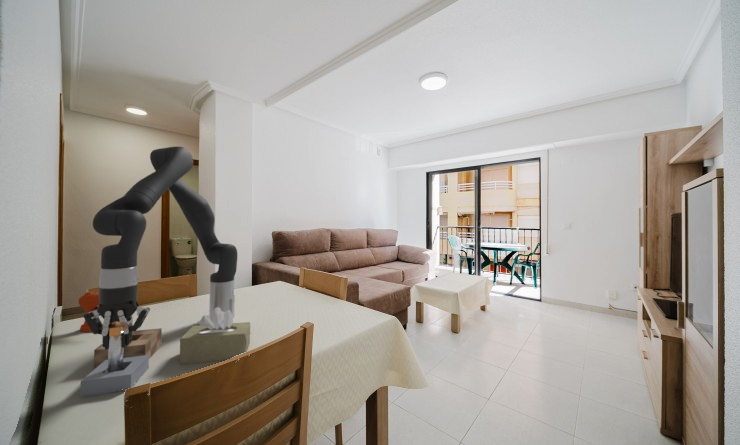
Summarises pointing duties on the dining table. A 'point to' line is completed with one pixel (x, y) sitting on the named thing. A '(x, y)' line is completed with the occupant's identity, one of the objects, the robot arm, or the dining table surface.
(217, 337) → the tissue box
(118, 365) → the bar
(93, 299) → the toy drill
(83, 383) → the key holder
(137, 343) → the block
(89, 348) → the dining table surface
